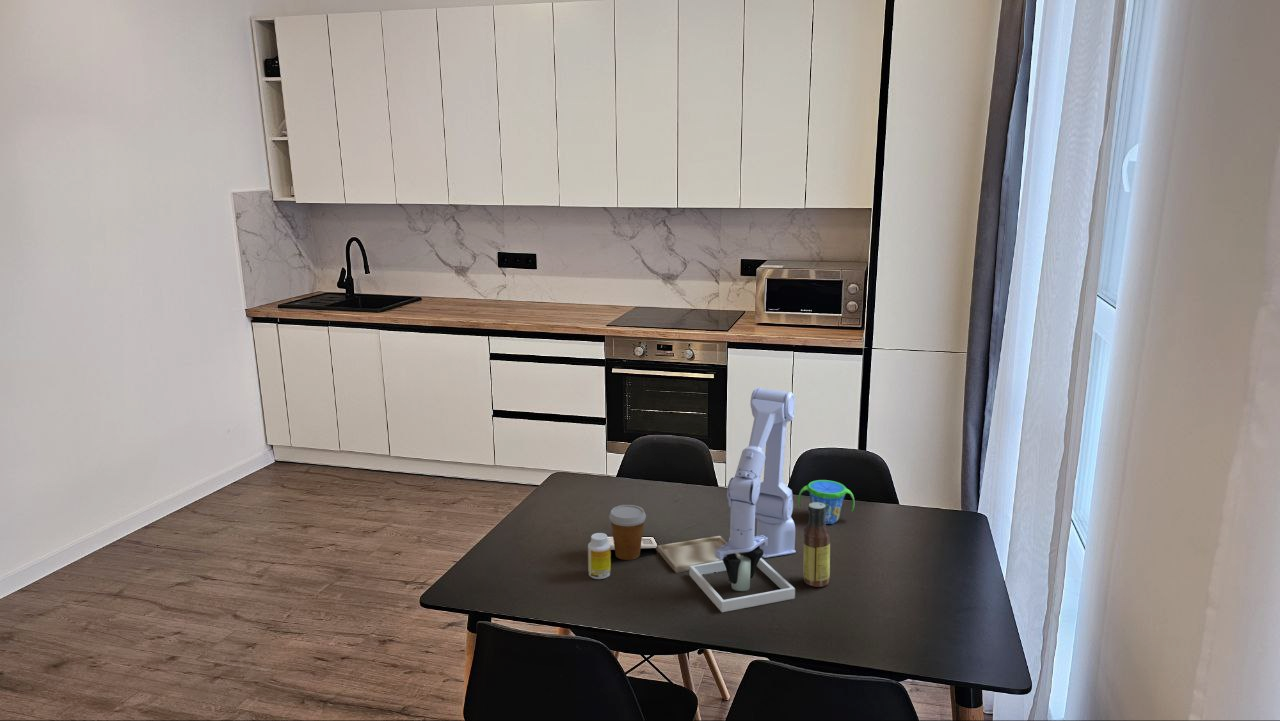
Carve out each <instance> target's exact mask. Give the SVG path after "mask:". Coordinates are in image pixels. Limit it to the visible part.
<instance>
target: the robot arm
mask: <svg viewBox="0 0 1280 721" xmlns="http://www.w3.org/2000/svg"><path fill="white" fill-rule="evenodd" d="M749 405H750V409H751V415H752V416H753V418H754V419H753V423H752V428H751V433H750V438H749V443H748V446H747V447H746V448H744V449H742V451H741V454H740V459H739V462H738V465H737V467H736V470H735V474H734V477H730V479H729V481H728V484H727V489H726V490H727V491H726V495H727V500H728V507H729V508H730V517H729V518H730V520H729V522H730V523H729V524H730V525H729V529H730V530H729V538H728V541H727V543H726V544H725V545H723V546H722V547H720V548H718V549H715V557H716V558H718V559H719V560H723V562H724V565H725V567H726V570H727V571H726V572H727V573H726V574H727V578H728V581H729V582H730V583H731V582H732V583H733V584H736V583H737V577H738V568H739V565H740V562H741V560H740V559H738V558H737V556H736V553H739V554H742V553H743V556H747V557H749V558H750V559H751V570H750V579H753V578H754V575H755V571H756V568H757V564H758V562H759V560H760V558H762V559H767V558H773V557H778V556H779V557H780V556H784V555H791V554H796V551H797V550H795V545H796V544H795V543H796V524H795V521H794V520H793V518H792V514H793V509H794V500H793V489H791V488H789V486H787V484H786V483H784V482H783V476H784V475H783V474H784V462H785V461H784V460H785V447H786V445H785V444H786V432H787V424H788V422H792V421H794V417H795V406H796V398H795V396H794V393H793V392H792V391H784V390H775V389H774V390H773V389H768V388H760V387H755V388H754V390H753V391H752V392H751V395H750V404H749ZM764 449H765V452H764ZM762 471H763V472H762ZM762 473H763V481H762V480H761V476H762ZM756 520H757V522H756ZM756 523H757V524H756ZM755 525H756V529H755ZM755 531H756V536H755Z"/></svg>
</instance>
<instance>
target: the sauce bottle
mask: <svg viewBox="0 0 1280 721" xmlns="http://www.w3.org/2000/svg"><path fill="white" fill-rule="evenodd" d="M807 510H808V523H807V524H806V525H805V527H804V529H803V552H802V553H803V556H802V557H803V562H802V563H803V565H802V568H803V569H802V571H803V573H802V575H803V580H804V583H805V584H806V585H808V586H810V587H814V588H821V587H822V588H823V587H825V586H828V584H829V582H830V576H831V574H830V573H831V563H830V562H831V540H830V539H831V538H830V534H831V533H830V531H829V528H828V526H827V524H825V511H826V506H825V504H823V503H819V502H813V503H810V502H809V504H808V509H807Z"/></svg>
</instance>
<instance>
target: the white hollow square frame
mask: <svg viewBox="0 0 1280 721" xmlns="http://www.w3.org/2000/svg"><path fill="white" fill-rule="evenodd" d="M756 568H758V569H759V570H760V571H761V572H762V573H763V574H765V576H767V578H769V579H770V580H771V581H772V582H773V583H774V584H775V585H776V586H777V587H778V588H780V589H775V590H771V591H765V592H760V593H754V594H749V595H744V596H739V597H733V598H727V599H723V598H722V596H721V595H720V594H719V593H718V592H717V591H716V590H715V588H714V587H713V586H712V585H711V584H710V583H709V582H708V581H707V580H706V578H705V577H704V575H708V574H715V573H714V572H716V573H719V572H727V570H726V567H725V565H724V562H723V560H722V561H716V562H710V563H704V564H698V565H692V566H690V571H689V577H690V578H691V579H692V580H693V582H695V583H696V585H697V586H698V587H699V589H700V590H702V591H703V593H704V594H705V595H706V596H707V597H708V598H709V600H710V601H711V602H712V604H714V605H715V606H716V607H717V609H718V610H719V611H720V612H721V613H726V612H731V611H736V610H743V609H746V608H752V607H757V606H763V605H767V604H773V603H778V602H782V601H788V600H789V601H790V600H794V599H795V598H796V588H795V587H794V586H793V585H792V584H791V583H789V581H787V580H786V579H785V578H784V577H783V576H782V575H781V574H780V573H779V572H777V570H775V569H774V568H773V566H771V565H770V564H768V563H767V561H766V560H765V559H764V558H763V557H761V558H760V560H759V562H758V564H757V566H756ZM703 574H704V575H703Z"/></svg>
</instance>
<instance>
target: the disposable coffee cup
mask: <svg viewBox="0 0 1280 721" xmlns="http://www.w3.org/2000/svg"><path fill="white" fill-rule="evenodd" d="M646 518H647V514H646V513H645V510H644V508H642V507H641V506H639V505H638V506H637V505H634V504H621V505H617V506H614V507H613V508H612V509H611V510H610V513H609V515H608V519H609V520H610V524H611V530H612V539H613V546H614V552H615V553H614V554H615V557H616V558H617V559H620V560H622V561H632V560H636V559H638V558H639V557H640V555H641V549H642V548H641V547H642V541H643V532H644V525H645V521H646Z"/></svg>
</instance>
